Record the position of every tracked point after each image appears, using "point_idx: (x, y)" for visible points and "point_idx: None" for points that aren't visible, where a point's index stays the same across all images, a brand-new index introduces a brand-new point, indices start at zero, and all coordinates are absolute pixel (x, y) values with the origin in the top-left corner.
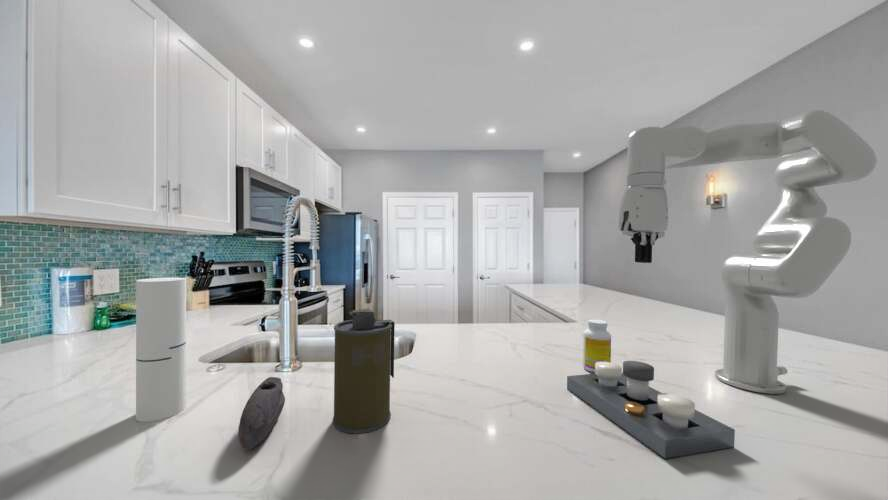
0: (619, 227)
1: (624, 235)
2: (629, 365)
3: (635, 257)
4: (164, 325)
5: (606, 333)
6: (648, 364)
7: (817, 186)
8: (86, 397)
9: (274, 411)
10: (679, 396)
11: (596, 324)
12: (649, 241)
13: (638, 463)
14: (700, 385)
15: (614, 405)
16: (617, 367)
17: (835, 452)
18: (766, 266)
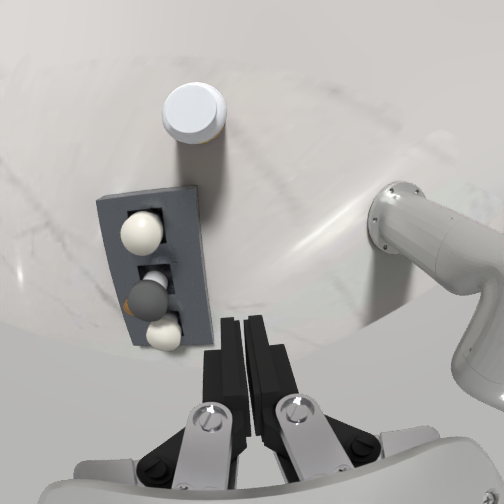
0: (45, 499)
1: (86, 468)
2: (133, 303)
3: (204, 351)
4: None
5: (201, 135)
6: (165, 304)
7: None
8: None
9: None
10: (174, 333)
11: (173, 128)
12: (277, 454)
13: (114, 333)
14: (329, 210)
15: (118, 290)
16: (151, 244)
17: (297, 342)
18: (485, 369)
